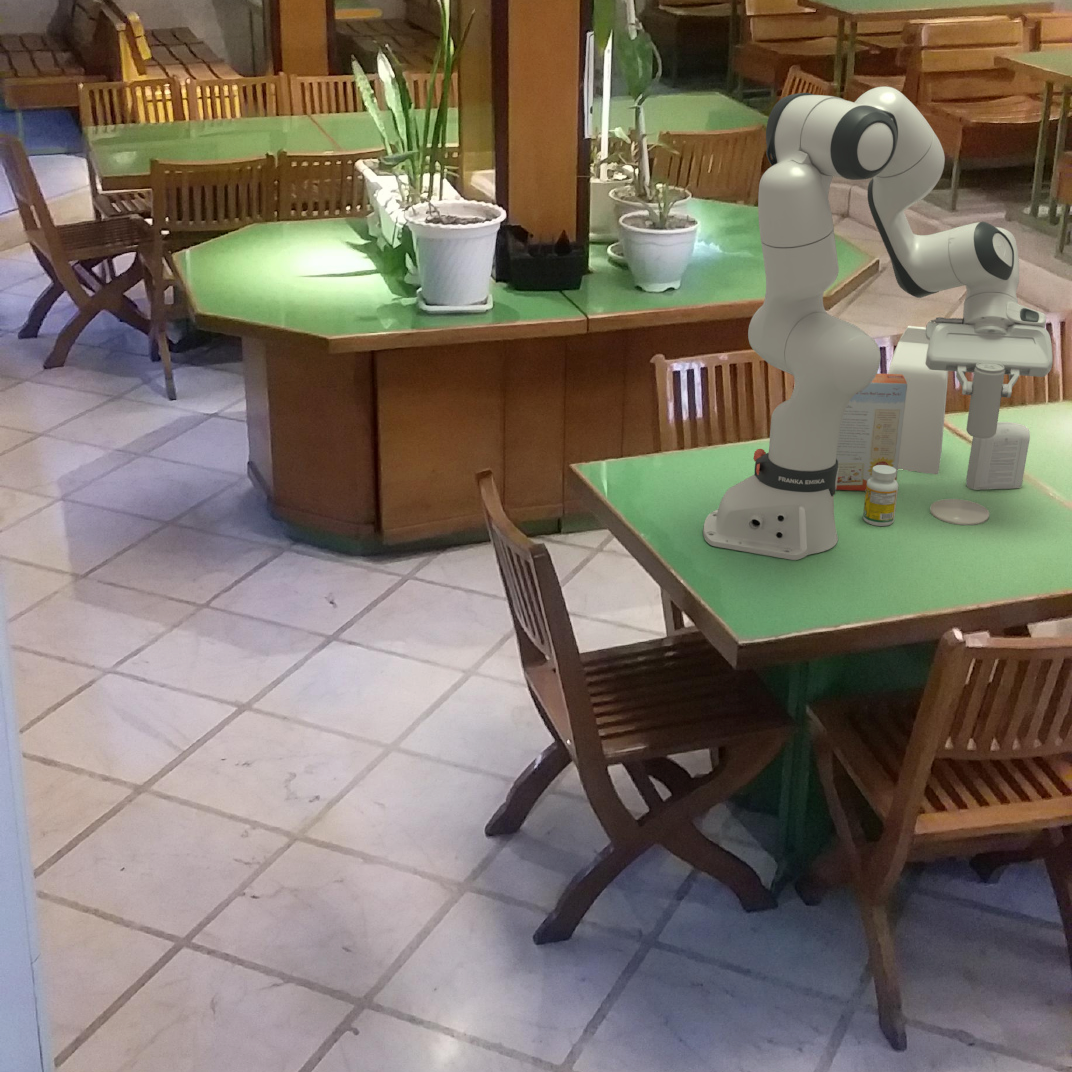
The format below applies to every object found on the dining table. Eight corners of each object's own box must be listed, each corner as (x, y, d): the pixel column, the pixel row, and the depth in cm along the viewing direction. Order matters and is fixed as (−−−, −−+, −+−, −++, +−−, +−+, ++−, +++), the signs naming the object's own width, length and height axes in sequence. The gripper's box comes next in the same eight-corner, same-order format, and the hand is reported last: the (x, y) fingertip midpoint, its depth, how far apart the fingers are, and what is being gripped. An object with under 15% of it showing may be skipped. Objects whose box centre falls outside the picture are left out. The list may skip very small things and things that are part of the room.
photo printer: (1015, 480, 269) (1025, 417, 264) (1025, 489, 265) (1035, 426, 260) (961, 483, 268) (970, 419, 263) (971, 492, 264) (980, 428, 259)
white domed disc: (931, 522, 252) (931, 519, 251) (928, 499, 261) (929, 496, 260) (991, 527, 250) (991, 524, 250) (986, 504, 259) (986, 501, 259)
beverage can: (996, 440, 242) (1006, 371, 237) (966, 438, 243) (975, 369, 238) (994, 430, 246) (1004, 362, 241) (965, 428, 247) (974, 360, 242)
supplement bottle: (888, 529, 249) (894, 477, 245) (858, 522, 252) (863, 471, 247) (898, 518, 253) (904, 467, 249) (868, 511, 256) (874, 461, 252)
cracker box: (891, 480, 269) (904, 372, 260) (895, 493, 263) (909, 383, 254) (814, 477, 270) (825, 369, 261) (817, 490, 264) (827, 380, 255)
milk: (872, 466, 275) (888, 333, 264) (878, 445, 285) (893, 316, 274) (938, 474, 272) (956, 340, 261) (941, 452, 282) (959, 322, 271)
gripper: (928, 307, 244) (923, 382, 240) (1055, 314, 241) (1053, 390, 236) (924, 325, 250) (920, 398, 246) (1048, 332, 247) (1046, 407, 242)
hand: (986, 394), depth 241 cm, fingers closed on beverage can, 5 cm apart
